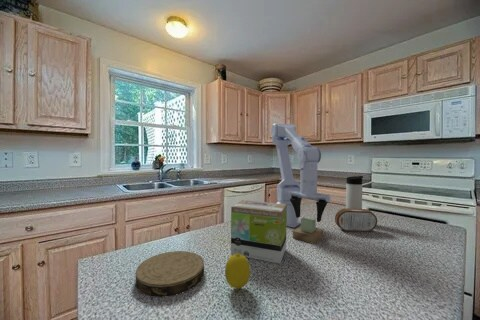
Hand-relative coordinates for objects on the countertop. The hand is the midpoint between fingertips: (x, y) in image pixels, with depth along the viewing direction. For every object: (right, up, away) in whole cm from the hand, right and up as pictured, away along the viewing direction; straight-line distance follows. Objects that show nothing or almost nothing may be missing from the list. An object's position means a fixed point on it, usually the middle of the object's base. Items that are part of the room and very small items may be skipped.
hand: (308, 219), depth 79 cm
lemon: (-25, -8, -30) cm, 40 cm away
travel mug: (+26, -6, +18) cm, 32 cm away
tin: (+21, -7, +7) cm, 23 cm away
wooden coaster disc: (-41, -8, -25) cm, 49 cm away
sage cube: (0, -4, 0) cm, 4 cm away
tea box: (-18, -7, -12) cm, 23 cm away
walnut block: (0, -7, 0) cm, 7 cm away
